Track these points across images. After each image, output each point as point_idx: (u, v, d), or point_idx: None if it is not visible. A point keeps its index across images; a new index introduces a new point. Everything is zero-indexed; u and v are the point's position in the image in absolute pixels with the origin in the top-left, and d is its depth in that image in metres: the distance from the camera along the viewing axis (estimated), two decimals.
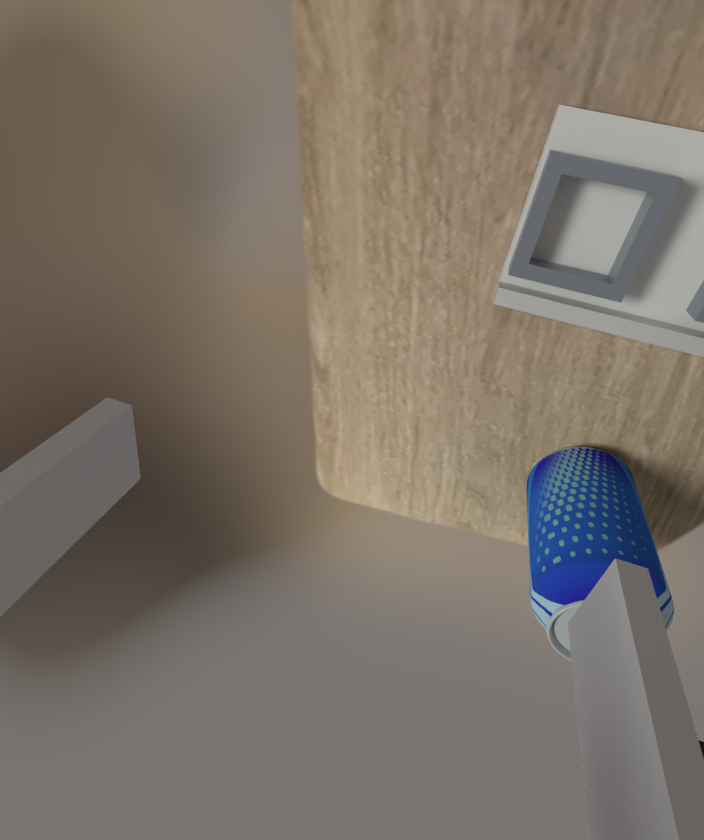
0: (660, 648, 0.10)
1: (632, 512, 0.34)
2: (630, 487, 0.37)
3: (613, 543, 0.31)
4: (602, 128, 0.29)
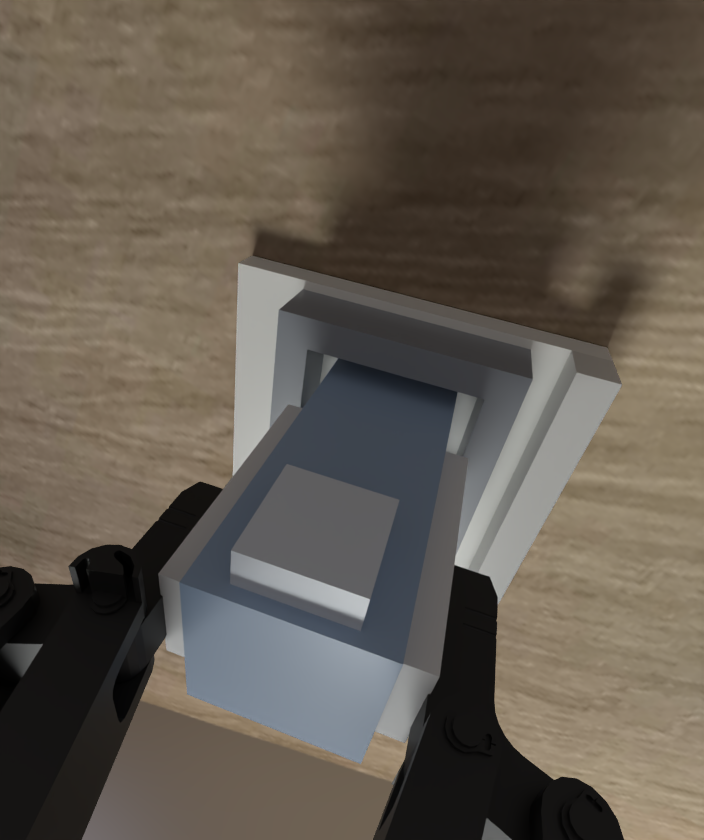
0: (452, 506, 0.12)
1: None
2: None
3: None
4: None
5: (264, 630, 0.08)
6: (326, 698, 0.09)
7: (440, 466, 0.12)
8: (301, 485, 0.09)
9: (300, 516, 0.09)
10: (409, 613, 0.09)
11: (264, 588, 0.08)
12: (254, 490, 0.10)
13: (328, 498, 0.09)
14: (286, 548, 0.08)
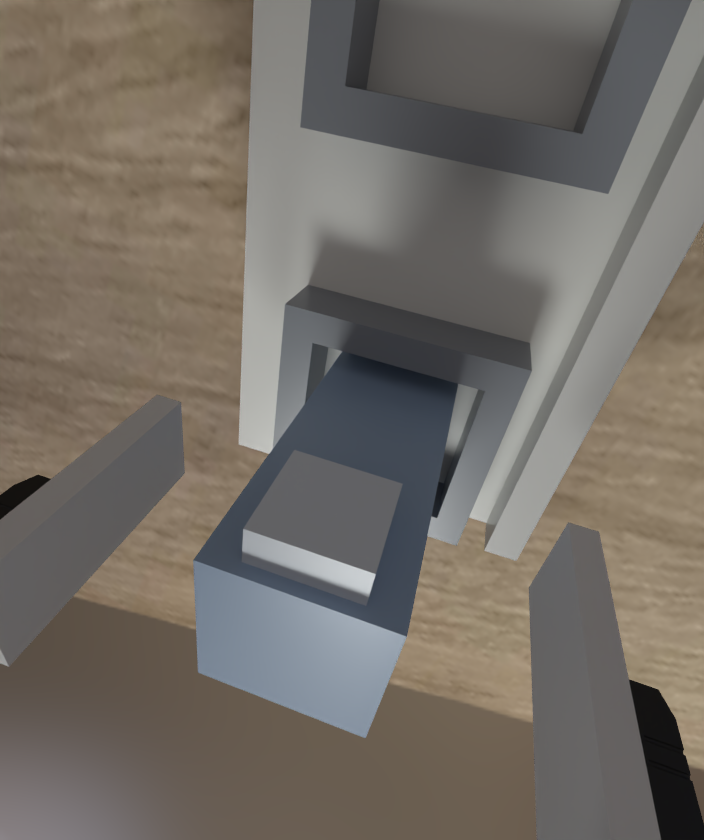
0: (602, 599, 0.10)
1: None
2: None
3: None
4: (257, 394, 0.19)
5: (274, 606, 0.09)
6: (333, 672, 0.09)
7: (441, 454, 0.12)
8: (308, 469, 0.10)
9: (308, 498, 0.09)
10: (412, 590, 0.09)
11: (274, 565, 0.09)
12: (263, 476, 0.11)
13: (334, 482, 0.10)
14: (295, 527, 0.09)
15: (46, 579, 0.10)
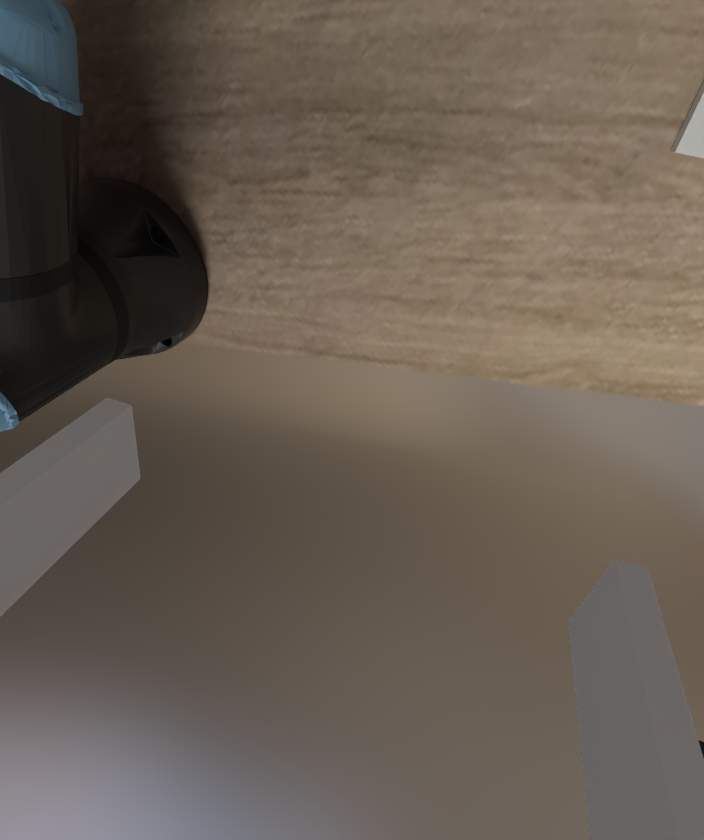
0: (660, 648, 0.10)
1: None
2: None
3: None
4: None
5: None
6: None
7: None
8: None
9: None
10: None
11: None
12: None
13: None
14: None
15: None
